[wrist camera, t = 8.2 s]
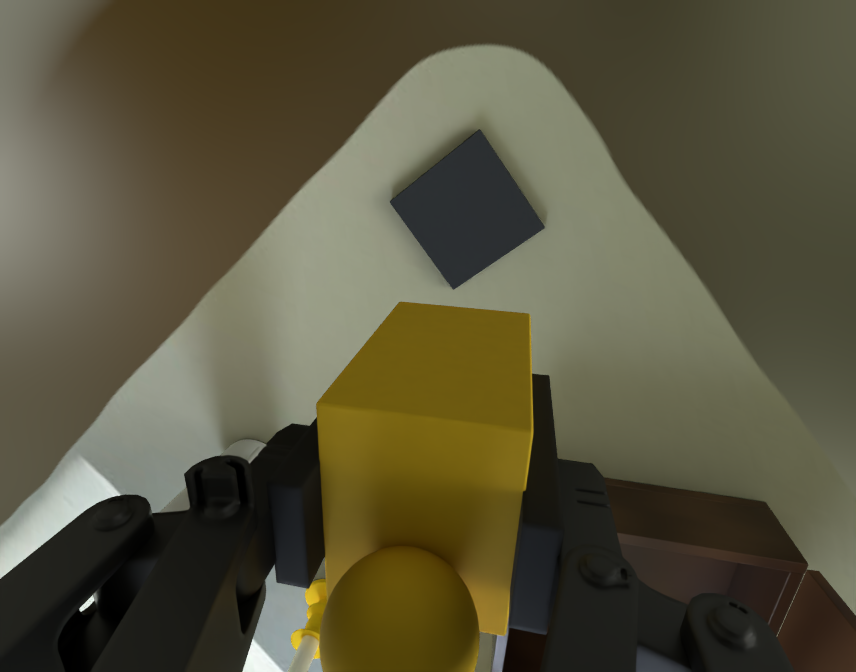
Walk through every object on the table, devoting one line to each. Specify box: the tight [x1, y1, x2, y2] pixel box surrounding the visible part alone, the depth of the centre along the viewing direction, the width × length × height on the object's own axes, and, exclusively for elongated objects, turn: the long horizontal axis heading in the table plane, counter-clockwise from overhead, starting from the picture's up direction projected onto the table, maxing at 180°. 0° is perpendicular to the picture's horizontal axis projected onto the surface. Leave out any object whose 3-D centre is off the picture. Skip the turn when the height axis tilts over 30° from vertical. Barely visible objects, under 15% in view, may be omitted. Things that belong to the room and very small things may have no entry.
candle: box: [288, 579, 327, 672], centre depth 45 cm, size 5×5×16 cm
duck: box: [316, 302, 533, 672], centre depth 13 cm, size 4×7×10 cm, turn 178°
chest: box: [491, 478, 808, 672], centre depth 41 cm, size 20×19×6 cm
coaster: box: [390, 130, 545, 289], centre depth 35 cm, size 8×8×1 cm
